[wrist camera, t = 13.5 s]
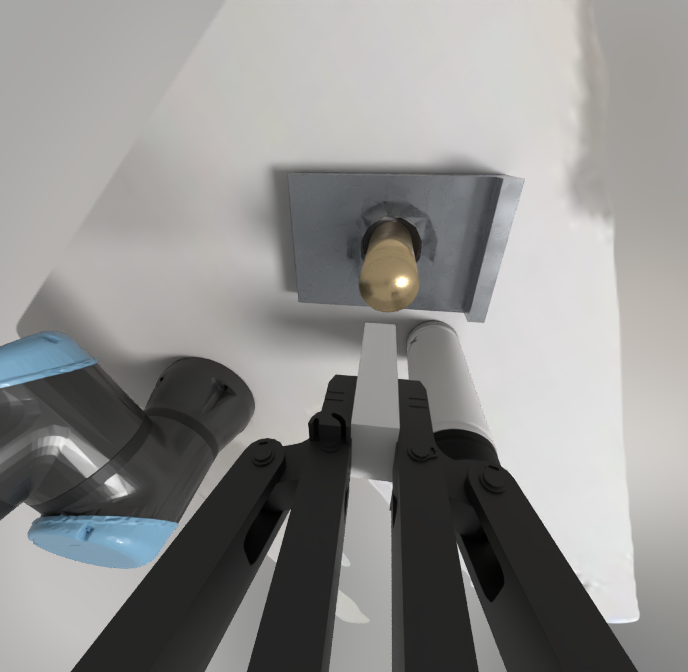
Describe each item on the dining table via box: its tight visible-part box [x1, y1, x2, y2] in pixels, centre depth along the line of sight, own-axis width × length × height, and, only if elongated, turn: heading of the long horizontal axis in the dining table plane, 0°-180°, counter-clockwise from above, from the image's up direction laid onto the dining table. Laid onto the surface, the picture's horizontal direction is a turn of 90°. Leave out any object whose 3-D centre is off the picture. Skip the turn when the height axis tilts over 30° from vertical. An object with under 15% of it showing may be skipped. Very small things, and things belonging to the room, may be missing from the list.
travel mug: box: [407, 321, 501, 467], centre depth 29 cm, size 6×7×20 cm
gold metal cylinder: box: [359, 222, 419, 312], centre depth 27 cm, size 4×4×12 cm
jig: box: [288, 173, 525, 323], centre depth 30 cm, size 20×13×4 cm, turn 90°
